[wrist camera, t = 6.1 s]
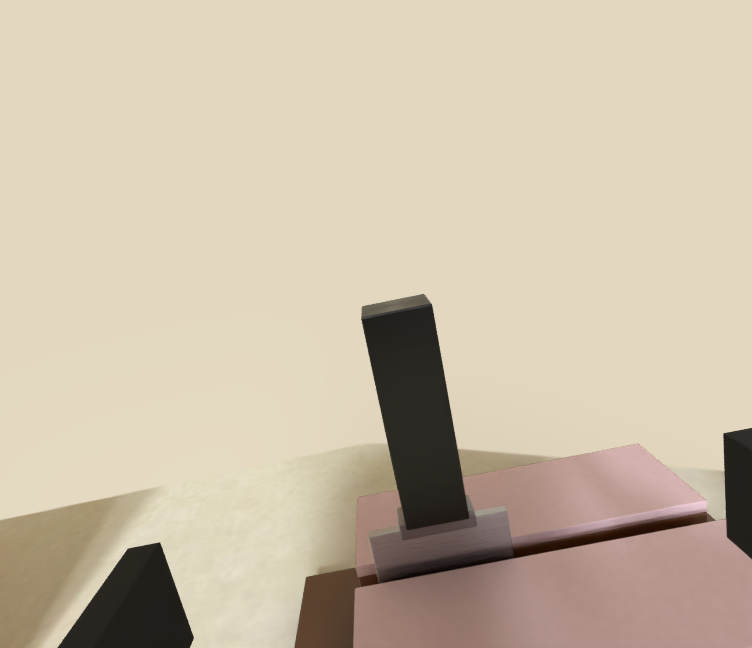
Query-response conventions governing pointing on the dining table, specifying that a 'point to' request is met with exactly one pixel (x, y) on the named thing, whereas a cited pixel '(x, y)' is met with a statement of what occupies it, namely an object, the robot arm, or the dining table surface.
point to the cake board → (331, 609)
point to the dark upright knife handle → (424, 453)
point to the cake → (570, 566)
